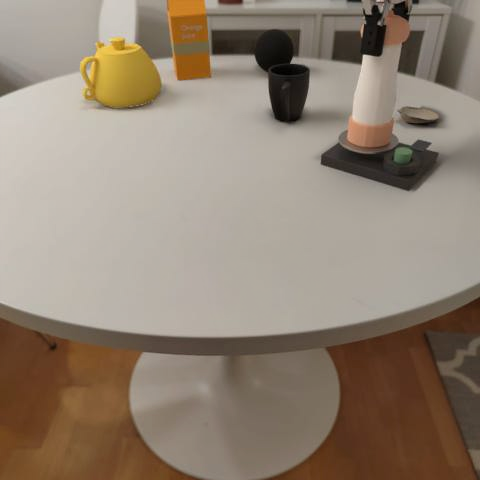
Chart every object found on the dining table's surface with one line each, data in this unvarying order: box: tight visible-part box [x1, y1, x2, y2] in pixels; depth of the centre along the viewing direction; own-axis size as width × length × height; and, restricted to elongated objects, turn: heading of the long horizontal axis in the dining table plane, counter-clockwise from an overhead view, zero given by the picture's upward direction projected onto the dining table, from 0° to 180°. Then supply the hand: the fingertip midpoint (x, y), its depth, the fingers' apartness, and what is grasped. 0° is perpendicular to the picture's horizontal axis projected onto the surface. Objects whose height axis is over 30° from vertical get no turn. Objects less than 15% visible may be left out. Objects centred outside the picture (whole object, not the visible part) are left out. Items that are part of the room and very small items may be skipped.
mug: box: [267, 63, 311, 123], centre depth 92 cm, size 8×12×10 cm
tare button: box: [394, 147, 412, 164], centre depth 73 cm, size 3×3×2 cm
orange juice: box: [166, 0, 212, 81], centre depth 114 cm, size 8×9×20 cm
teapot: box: [79, 36, 163, 108], centre depth 105 cm, size 20×19×13 cm
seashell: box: [396, 106, 440, 124], centre depth 92 cm, size 8×3×8 cm
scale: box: [320, 142, 440, 192], centre depth 78 cm, size 16×12×4 cm
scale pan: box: [337, 129, 433, 154], centre depth 77 cm, size 14×10×1 cm
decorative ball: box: [253, 28, 295, 73], centre depth 116 cm, size 10×10×10 cm
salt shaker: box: [347, 8, 411, 148], centre depth 72 cm, size 7×7×19 cm
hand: (382, 47), depth 69 cm, fingers closed on salt shaker, 7 cm apart
